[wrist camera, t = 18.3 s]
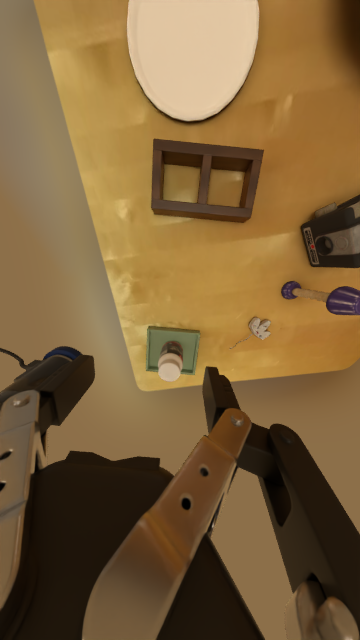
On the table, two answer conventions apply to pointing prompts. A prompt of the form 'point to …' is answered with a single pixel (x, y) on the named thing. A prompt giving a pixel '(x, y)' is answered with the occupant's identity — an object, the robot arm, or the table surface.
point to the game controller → (259, 328)
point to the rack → (205, 178)
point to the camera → (334, 235)
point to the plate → (192, 52)
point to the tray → (181, 336)
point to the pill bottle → (170, 361)
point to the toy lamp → (328, 298)
